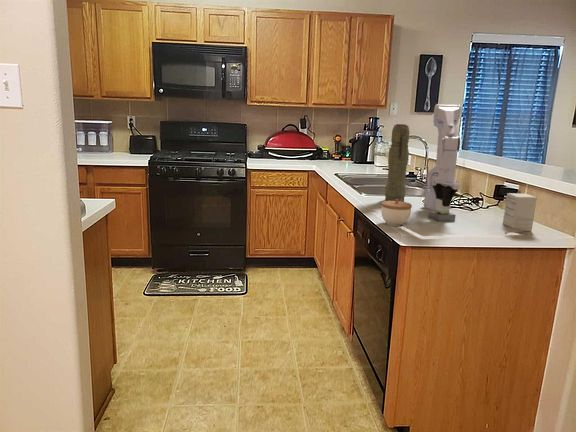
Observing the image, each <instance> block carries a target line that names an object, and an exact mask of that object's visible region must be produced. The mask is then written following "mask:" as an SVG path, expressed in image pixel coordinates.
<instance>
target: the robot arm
mask: <svg viewBox="0 0 576 432" xmlns="http://www.w3.org/2000/svg"><path fill="white" fill-rule="evenodd" d="M461 109H462V106H461V105H460V104H441V103H440V104H439V103H436V104H435V105H434V109H433V121H432V122H433V126H434V127H435V128H437V134H438V135H437V136H438V137H437V145H436V146H437V147H436V149H437V150H436V159H435V160H436V161H435V162H436V163H435V166H434V167H432V168H431V169H430V170H429V171H428V174H427V175H428V176H427V180H426V181H427V182H426V188H427V190H426V191H425V193H424V198H423V199H424V200H423V207H422V206H421V208H422V209H423V208H427V209H428V210H429V211H435V209H436V200H437V199H438V198H443V206H444V207H447V206H449V205H450V206H451V204H452V203H451V202H452V200H453V198H454V197H455V195H456V193H457V192H458V190H460V188H461V187H460V186H461V184H460V183H457V182H456V181H455V178H456V177H455V176H456V168H457V167H456V166H457V159H458V158H457V157H458V153H459V152H460V149H461V137H460V135H458V127H457V125H458V124H459V120H460V118H461V111H462V110H461Z"/></svg>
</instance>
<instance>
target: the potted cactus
mask: <svg viewBox="0 0 576 432" xmlns="http://www.w3.org/2000/svg"><path fill="white" fill-rule="evenodd" d="M391 132H392V133H391V140H390V142H391V144H390V147H389V151H388V158H387V159H388V160H387V164H388V171H387V183H386V185H385V191H384V192H385V193H384V195H385V197H384V198H385V199H384V201H395V200H396V199H398V201H401V202H405V197H406V188H407V187H406V177H407V176H406V175H407V174H406V173H407V166H408V164H409V155H410V150H409V142H410V139H409V138H410V126H409V125H408V124H403V123H396V124H395V125H394V126H393V128H392V131H391Z"/></svg>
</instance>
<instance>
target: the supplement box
mask: <svg viewBox="0 0 576 432" xmlns="http://www.w3.org/2000/svg"><path fill="white" fill-rule="evenodd" d="M537 199H538V197H537V196H534V195H533V194H532V195H531V194H528V193H517V192H516V193H515V192H514V193H511V192H509V193H508V192H507V193H506V199H505V205H504V206H505V207H504V213H503V220H502V224H504V225H505V226H507V227H510V228H512V229H517V230H520V231H523V232H532V230H533V223H534V218H535V212H536V205H537Z"/></svg>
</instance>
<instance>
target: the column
mask: <svg viewBox="0 0 576 432" xmlns="http://www.w3.org/2000/svg"><path fill="white" fill-rule="evenodd" d="M450 207H451V204H450V205H449V206H447V207H444V206H443V198H438V199H437V200H436V209H435V210H434V211H435V212H438V214H449V212H450Z"/></svg>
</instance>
